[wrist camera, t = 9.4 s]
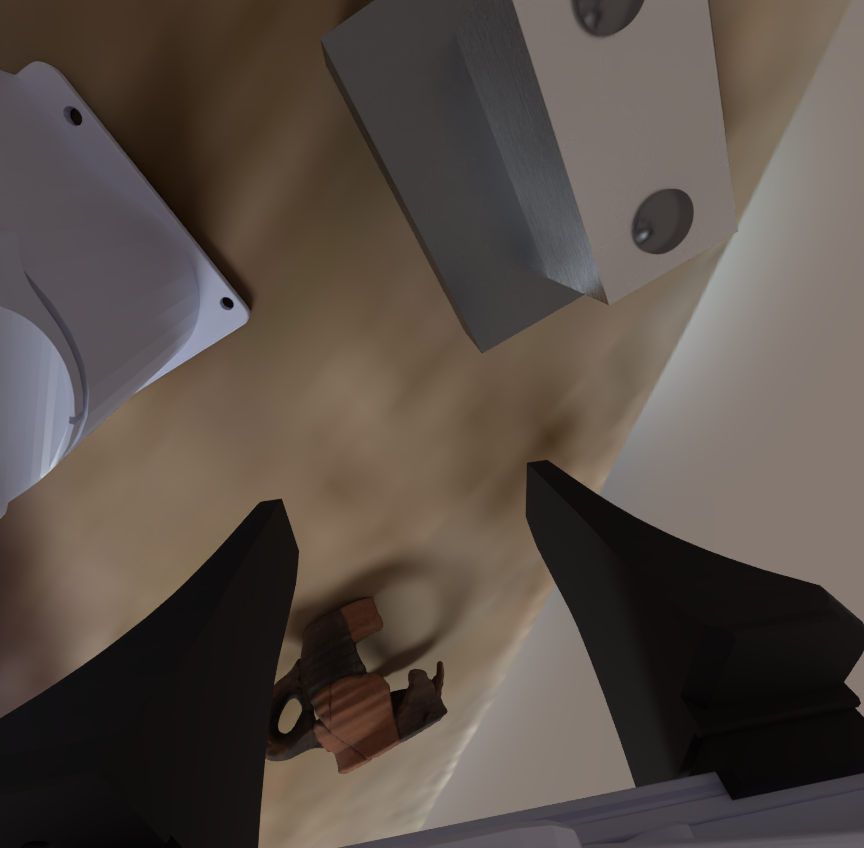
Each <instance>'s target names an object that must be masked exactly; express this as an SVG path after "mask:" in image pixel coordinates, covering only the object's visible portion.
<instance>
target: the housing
mask: <svg viewBox="0 0 864 848" xmlns="http://www.w3.org/2000/svg"><path fill="white" fill-rule="evenodd" d="M454 34H455V36H456V39H457V42H458V44H459V47H460V49H461V52H462V55H463V57H464V60H465V62H466V65H467V68H468V70H469V73H470V75H471V78H472V81H473V83H474V86H475V88H476V91H477V94H478V96H479V99H480V101H481V104H482V106H483V109H484V112H485V114H486V117H487V119H488V122H489V125H490V127H491V130H492V132H493V135H494V138H495V140H496V143H497V145H498V148H499V151H500V153H501V156H502V158H503V161H504V164H505V166H506V169H507V171H508V174H509V177H510V179H511V182H512V184H513V187H514V190H515V192H516V195H517V197H518V200H519V203H520V205H521V208H522V210H523V213H524V216H525V218H526V221H527V223H528V226H529V229H530V231H531V234H532V236H533V239H534V242H535V244H536V247H537V249H538V252H539V255H540V257H541V260H542V262H543V265H544V268H545V270H546V273H547V275H548V278H550V279H552V280H554V281H556V282H559V283H561V284H563V285H565V286H567V287H570V288H572V289H574V290H576V291H579V292H581V293H583V294H585V295H587V296H590V297H592V298H594V299H596V300H598V301H601V302H603V303H605V304H607V305H611V304H613V303H614V302H616V301H618V300H620V299H621V298H623V297H625V296H626V295H628V294H630V293H632V292H633V291H635V290H637V289H639V288H640V287H642V286H644V285H646V284H647V283H649V282H651V281H652V280H654V279H656V278H658V277H659V276H661V275H663V274H665V273H666V272H668V271H670V270H672V269H673V268H675V267H677V266H678V265H680V264H682V263H684V262H685V261H687V260H689V259H691V258H692V257H694V256H696V255H698V254H699V253H701V252H703V251H704V250H706V249H708V248H710V247H711V246H713V245H715V244H717V243H718V242H720V241H722V240H724V239H725V238H727V237H729V236H730V235H732V234H734V233H736V232H737V231H738V228H737V220H736V212H735V205H734V197H733V189H732V182H731V174H730V167H729V159H728V151H727V144H726V136H725V128H724V121H723V113H722V105H721V98H720V90H719V82H718V75H717V67H716V59H715V52H714V44H713V37H712V29H711V21H710V14H709V6H708V0H475V1H474V3H473V4H472V6H471V8H470V9H469V11H468V12H467V14H466V15H465V17H464V19H463V20H462V22H461V23H460V25H459V26H458V28H457V30H456V31H455V33H454Z"/></svg>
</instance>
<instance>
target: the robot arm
mask: <svg viewBox="0 0 864 848" xmlns="http://www.w3.org/2000/svg"><path fill="white" fill-rule="evenodd" d="M74 108H76V109H77V110H78V111H79V112H80V114H81V116H82V123H81V124H80V125H79V126H77V125H76V124H75V123H73V121H72V119H71V116H70V112H71V111H72V109H74ZM223 297H228V298H230V299H231V300H232V301H233V303H234V307H233V308H228V307H226V306H225V305H224V304H223V302H222V301H223ZM249 317H250V310H249V308H248V306H247V305H246V304H245V302H244V301H243V300H242V299H241V297H240V296H239V295H238V294H237V292H236V291H235V290H234V289H233V287H232V286H231V285H230V284H229V282H228V281H227V280H226V279H225V277H224V276H223V275H222V274H221V272H220V271H219V270H218V269H217V267H216V266H215V265H214V263H213V262H212V261H211V260H210V258H209V257H208V256H207V255H206V253H205V252H204V251H203V250H202V248H201V247H200V246H199V245H198V243H197V242H196V241H195V240H194V238H193V237H192V236H191V235H190V233H189V232H188V231H187V230H186V228H185V227H184V226H183V225H182V223H181V222H180V221H179V220H178V218H177V217H176V216H175V215H174V213H173V212H172V211H171V210H170V208H169V207H168V206H167V204H166V203H165V202H164V201H163V199H162V198H161V197H160V196H159V194H158V193H157V192H156V191H155V189H154V188H153V187H152V186H151V184H150V183H149V182H148V181H147V179H146V178H145V177H144V176H143V174H142V173H141V172H140V171H139V169H138V168H137V167H136V166H135V164H134V163H133V162H132V161H131V159H130V158H129V157H128V156H127V154H126V153H125V152H124V150H123V149H122V148H121V147H120V145H119V144H118V143H117V142H116V140H115V139H114V138H113V137H112V135H111V134H110V133H109V132H108V130H107V129H106V128H105V127H104V125H103V124H102V123H101V122H100V120H99V119H98V118H97V117H96V115H95V114H94V113H93V112H92V110H91V109H90V108H89V107H88V105H87V104H86V103H85V102H84V100H83V99H82V98H81V97H80V95H79V94H78V93H77V91H76V90H75V89H74V88H73V86H72V85H71V84H70V83H69V81H68V80H67V79H66V78H65V76H64V75H63V74H62V73H61V72H60V71H59V70H58V69H57V68H55V67H53V66H51V65H49V64H47V63H44V62H39V61H35V62H32V63H30V64H29V65H27V66H26V67H25V68H23V69H22V70H21V71H20V72H18V73H17V74H16V75H14V74H11V73H8V72H5V71H2V70H0V518H1V517H2V516H4V515H5V513H6V511H7V506H8V502H10V501H11V500H13V499H14V498H16V497H17V496H19V495H20V494H22V493H23V492H25V491H26V490H27V489H29V488H30V487H32V486H33V485H34V484H35V483H37V482H38V481H39V480H41V479H42V478H43V477H44V476H45V475H46V474H47V473H49V472H50V471H51V470H52V469H53V468H54V467H55V466H56V465H57V464H58V463H59V462H60V461H61V460H62V459H63V458H64V457H66V456H67V455H68V454H69V453H70V452H71V451H72V450H73V449H74V448H75V447H77V446H78V445H79V444H80V443H81V442H82V441H83V440H84V439H85V438H86V437H87V436H88V435H90V434H91V433H92V432H93V431H94V430H95V429H96V428H97V427H98V426H99V425H100V424H101V423H103V422H104V421H105V420H106V419H107V418H108V417H109V416H110V415H111V414H112V413H113V412H115V411H116V410H117V409H118V408H119V407H120V406H121V405H122V404H123V403H124V402H125V401H126V400H128V399H129V398H130V397H131V396H132V395H133V394H134V393H136V392H138V391H139V390H141V389H142V388H144V387H146V386H147V385H149V384H150V383H152V382H153V381H155V380H157V379H158V378H160V377H161V376H163V375H165V374H166V373H168V372H169V371H171V370H172V369H174V368H176V367H177V366H179V365H180V364H182V363H184V362H185V361H187V360H188V359H190V358H191V357H193V356H195V355H196V354H198V353H199V352H201V351H203V350H204V349H206V348H207V347H209V346H211V345H212V344H214V343H215V342H217V341H218V340H220V339H222V338H223V337H225V336H226V335H228V334H230V333H231V332H233V331H234V330H236V329H237V328H239V327H241V326H242V325H244V324H245V323H246V322H247V321H248V320H249ZM526 518H527V521H528V524H529V527H530V530H531V532H532V535H533V538H534V540H535V543H536V546H537V548H538V550H539V552H540V554H541V556H542V558H543V560H544V562H545V564H546V565H547V567H548V569H549V571H550V573H551V575H552V577H553V579H554V581H555V583H556V585H557V586H558V588H559V590H560V592H561V594H562V596H563V598H564V600H565V602H566V604H567V606H568V608H569V610H570V612H571V614H572V616H573V618H574V620H575V622H576V625H577V627H578V629H579V632H580V634H581V637H582V639H583V641H584V644H585V647H586V649H587V652H588V654H589V657H590V659H591V662H592V665H593V667H594V670H595V672H596V675H597V678H598V680H599V683H600V686H601V688H602V691H603V694H604V696H605V699H606V702H607V705H608V707H609V710H610V713H611V716H612V719H613V721H614V724H615V727H616V730H617V733H618V735H619V738H620V741H621V744H622V747H623V750H624V753H625V756H626V759H627V762H628V765H629V768H630V771H631V774H632V777H633V780H634V783H635V786H636V788H631V789H627V790H621V791H617V792H611V793H607V794H601V795H597V796H592V797H587V798H582V799H577V800H572V801H567V802H562V803H557V804H552V805H547V806H543V807H538V808H533V809H528V810H523V811H518V812H513V813H508V814H503V815H498V816H493V817H488V818H484V819H478V820H473V821H469V822H464V823H459V824H454V825H449V826H444V827H439V828H434V829H429V830H424V831H419V832H414V833H409V834H404V835H400V836H395V837H390V838H385V839H380V840H375V841H370V842H365V843H360V844H355V845H350V846H345V847H340V848H864V717H863V716H862V715H861V714H860V713H859V712H858V711H857V710H856V709H855V708H856V707H859V705H860V704H861V702H860V700H859V698H858V696H857V695H856V694H855V693H854V692H853V691H852V690H851V689H850V688H849V687H848V686H847V685H846V684H845V683H844V681H845V679H846V678H847V676H848V675H849V673H850V672H851V670H852V669H853V667H854V666H855V664H856V663H857V661H858V660H859V658H860V657H861V655H862V653H863V651H864V624H863V622H862V621H861V620H860V619H858V618H857V617H856V616H855V615H854V614H853V613H851V612H850V611H849V610H848V609H847V608H846V607H844V606H843V605H842V604H841V603H840V602H839V601H838V600H836V599H835V598H834V597H833V596H832V595H831V594H829V593H828V592H827V591H826V590H825V589H824V588H822V587H821V586H820V585H816V584H813V583H809V582H805V581H802V580H798V579H795V578H791V577H788V576H784V575H780V574H776V573H773V572H770V571H766V570H763V569H760V568H756V567H753V566H750V565H747V564H744V563H742V562H738V561H736V560H733V559H729V558H727V557H724V556H721V555H719V554H716V553H713V552H711V551H708V550H705V549H703V548H701V547H698V546H696V545H693V544H691V543H689V542H686V541H684V540H681V539H679V538H677V537H674V536H672V535H670V534H668V533H666V532H664V531H662V530H660V529H658V528H656V527H654V526H652V525H650V524H648V523H645V522H644V521H642V520H640V519H638V518H636V517H634V516H632V515H631V514H629V513H627V512H626V511H624V510H622V509H620V508H619V507H617V506H615V505H613V504H612V503H610V502H609V501H607V500H605V499H604V498H602V497H601V496H599V495H598V494H596V493H595V492H593V491H592V490H590V489H589V488H587V487H586V486H584V485H583V484H581V483H580V482H578V481H577V480H575V479H574V478H573V477H571V476H570V475H568V474H567V473H565V472H564V471H563V470H561V469H560V468H558V467H557V466H555V465H554V464H552V463H551V462H549V461H548V460H543V461H536V462H529V463H527V485H526ZM298 557H299V550H298V547H297V544H296V541H295V537H294V534H293V531H292V528H291V525H290V522H289V519H288V516H287V513H286V510H285V507H284V504H283V501H282V499H276V500H269V501H263V502H260V503H259V504H258V505H257V506H256V507H255V508H254V509H253V510H252V511H251V512H250V514H249V515H248V516H247V517H246V518H245V519H244V520H243V522H242V523H241V524H240V525H239V526H238V527H237V528H236V530H235V531H234V532H233V533H232V534H231V535H230V536H229V537H228V539H227V540H226V541H225V542H224V543H223V544H222V545H221V546H220V547H219V549H218V550H217V551H216V552H215V553H214V554H213V555H212V556H211V557H210V558H209V559H208V560H207V561H206V562H205V563H204V564H203V565H202V566H201V567H200V568H199V569H198V570H197V571H196V572H195V573H194V574H193V575H192V576H191V577H190V578H189V579H188V580H187V581H186V582H185V583H184V584H183V585H182V586H181V587H180V588H179V589H178V590H177V591H176V592H175V593H174V594H173V595H171V596H170V597H169V598H168V599H167V600H166V601H165V602H164V603H162V604H161V605H160V606H159V607H158V608H157V609H155V610H154V611H153V612H152V613H151V614H150V615H148V616H147V617H146V618H145V619H144V620H142V621H141V622H140V623H139V624H137V625H136V626H135V627H133V628H132V629H131V630H129V631H128V632H127V633H126V634H124V635H123V636H122V637H120V638H119V639H118V640H117V641H115V642H114V643H113V644H111V645H110V646H109V647H108V648H106V649H105V650H104V651H102V652H101V653H99V654H98V655H97V656H95V657H94V658H92V659H91V660H90V661H88V662H87V663H85V664H84V665H83V666H81V667H80V668H78V669H77V670H75V671H74V672H72V673H71V674H69V675H68V676H66V677H65V678H63V679H62V680H60V681H59V682H58V683H56V684H55V685H53V686H51V687H50V688H48V689H47V690H45V691H44V692H42V693H41V694H39V695H38V696H36V697H34V698H33V699H31V700H29V701H28V702H26V703H24V704H23V705H21V706H20V707H18V708H16V709H15V710H13V711H11V712H10V713H8V714H7V715H5V716H3V717H2V718H0V848H258V840H259V826H260V811H261V800H262V789H263V777H264V766H265V756H266V747H267V738H268V729H269V720H270V712H271V704H272V697H273V689H274V681H275V675H276V670H277V665H278V660H279V655H280V651H281V647H282V643H283V638H284V634H285V630H286V625H287V621H288V617H289V613H290V608H291V604H292V599H293V595H294V590H295V586H296V578H297V569H298Z"/></svg>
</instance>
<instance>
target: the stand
mask: <svg viewBox="0 0 864 848" xmlns="http://www.w3.org/2000/svg"><path fill="white" fill-rule="evenodd" d="M474 1H475V0H374V1H372V2H371V3H370V4H368V5H367V6H365V7H364V8H362V9H361V10H360V11H358V12H357V13H355V14H354V15H353V16H351V17H350V18H348V19H347V20H345V21H344V22H343V23H341V24H340V25H338V26H337V27H336V28H334V29H333V30H331V31H330V32H329V33H327V34H326V35H324V36H323V37H321V38H320V40H321V44H322V49H323V53H324V57H325V62H326V66H327V68H328V70H329V72H330V73H331V75H332V77H333V79H334V81H335V83H336V85H337V87H338V89H339V91H340V93H341V95H342V96H343V98H344V100H345V102H346V104H347V106H348V108H349V110H350V112H351V114H352V116H353V118H354V119H355V121H356V123H357V125H358V127H359V129H360V131H361V133H362V135H363V137H364V139H365V141H366V142H367V144H368V146H369V148H370V150H371V152H372V154H373V156H374V158H375V160H376V162H377V164H378V165H379V167H380V169H381V171H382V173H383V175H384V177H385V179H386V181H387V183H388V185H389V187H390V189H391V190H392V192H393V194H394V196H395V198H396V200H397V202H398V204H399V206H400V208H401V210H402V212H403V213H404V215H405V217H406V219H407V221H408V223H409V225H410V227H411V229H412V231H413V233H414V235H415V236H416V238H417V240H418V242H419V244H420V246H421V248H422V250H423V252H424V254H425V256H426V258H427V259H428V261H429V263H430V265H431V267H432V269H433V271H434V273H435V275H436V277H437V279H438V281H439V283H440V284H441V286H442V288H443V290H444V292H445V294H446V296H447V298H448V300H449V302H450V304H451V306H452V307H453V309H454V311H455V313H456V315H457V317H458V319H459V321H460V323H461V325H462V327H463V329H464V330H465V332H466V334H467V335H468V336H469V338H470V339H471V340H472V341H473V343H474V344H475V345H476V346H477V348H478V349H479V350H480V352H481V353H484V352H486V351H487V350H489V349H491V348H493V347H494V346H496V345H498V344H499V343H501V342H503V341H505V340H506V339H508V338H510V337H512V336H513V335H515V334H517V333H519V332H520V331H522V330H524V329H525V328H527V327H529V326H531V325H532V324H534V323H536V322H538V321H539V320H541V319H543V318H545V317H546V316H548V315H550V314H551V313H553V312H555V311H557V310H558V309H560V308H562V307H564V306H565V305H567V304H569V303H571V302H572V301H574V300H576V299H577V298H579V297H581V296H583V295H584V294H583V293H581V292H579V291H576V290H574V289H572V288H570V287H567V286H565V285H563V284H561V283H559V282H556V281H554V280H552V279H550V278H548V275H547V273H546V270H545V268H544V265H543V262H542V260H541V257H540V255H539V252H538V249H537V247H536V244H535V242H534V239H533V236H532V234H531V231H530V229H529V226H528V223H527V221H526V218H525V216H524V213H523V210H522V208H521V205H520V203H519V200H518V197H517V195H516V192H515V190H514V187H513V184H512V182H511V179H510V177H509V174H508V171H507V169H506V166H505V164H504V161H503V158H502V156H501V153H500V151H499V148H498V145H497V143H496V140H495V138H494V135H493V132H492V130H491V127H490V125H489V122H488V119H487V117H486V114H485V112H484V109H483V106H482V104H481V101H480V99H479V96H478V94H477V91H476V88H475V86H474V83H473V81H472V78H471V75H470V73H469V70H468V68H467V65H466V62H465V60H464V57H463V55H462V52H461V49H460V47H459V44H458V42H457V39H456V36H455V34H454V33H455V31H456V30H457V28H458V26H459V25H460V23H461V22H462V20H463V19H464V17H465V15H466V14H467V12H468V11H469V9H470V8H471V6H472V4H473V3H474ZM708 6H709V14H710V21H711V29H712V37H713V44H714V36H713V28H712V20H711V12H710V4H709V0H708ZM714 52H715V44H714ZM715 59H716V53H715ZM716 67H717V61H716ZM717 75H718V69H717ZM718 82H719V77H718ZM719 90H720V85H719ZM720 98H721V93H720ZM721 105H722V101H721ZM722 113H723V109H722ZM723 121H724V117H723ZM724 128H725V125H724ZM725 136H726V133H725ZM726 144H727V141H726ZM727 151H728V149H727ZM728 159H729V157H728ZM729 167H730V165H729Z"/></svg>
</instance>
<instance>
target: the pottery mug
mask: <svg viewBox="0 0 864 848" xmlns="http://www.w3.org/2000/svg"><path fill="white" fill-rule="evenodd" d="M382 628H383V622H382V619H381V616H380V615H379V614H378V612H377V608H376V606H375V603H374V601H373V598H371V597H368V598H365V599H361V600H358V601H356V602H353V603H350V604H348V605H347V606H344V607H342V608H341V609H338V610H335V611H334V612H332V613H330V614H328V615H324V616H322V617H321V618H320V619H318V620H316V621H314V622H313V623H312V624H310V625H309V627H308V628H307V629H306V630H305V632H304V633H303V646H302V652H301V659H298V660H297V662H296V663H295V665H294V667H293V668H292V670H291V671H290V672H289V673H288V674H287V675H285V676H284V677H283V678H282V679H280V680H279V681H278V682H277V683H276V684H275V685H274V689H273V697H272V704H271V712H270V720H269V729H268V738H267V747H266V756H265V758H266V759H268V760H270V761H284V760H288V759H291V758H293V757H295V756H297V755H299V754H301V753H303V752H305V751H307V750H309V749H313V748H324V749H326V751H327V752H333V753H334V754H335V757H336V761H337V765H338V772H339V773H340V774H346V773H348V772H350V771H353V770H354V769H356V768H358V767H360V766H362V765H364V764H366V763H368V762H369V761H371V760H372V758H376V757H378V756H380V755H381V754H383V753H385V752H386V751H388V750H390V749H392V748H393V747H395V746H397V745H398V744H399V743H401V742H404V741H406V740H408V739H410V738H412V737H413V736H415V735H416V734H418V733H420V732H422V731H423V730H425V729H427V728H428V727H430V726H431V725H433V724H434V723H436V722H437V721H440V719H441V718H442V717H443V716H444V715H445V714H446V713H447V709H446V707H445V706H444V704H443V702H442V699H441V689H442V686H443V678H444V668H443V663H442V662H441V661H439V662H438V663H437V673H436V676H434V678H433V679H432V680H431V679H429V678H428V677H427V673H426V672H425V671H424V670H420V669H413V670H410V672H409V674H408V681H409V686H408V688H407V689H401V690H397V691H393V692H390V687H389V684H388V683H387V682H386V681H385V679H384V678H383V677H382V676H381V675H379V674H376V673H367V671H366V668H365V666H364V664H363V663H362V661H361V659H360V657H359V655H358V653H357V648H356V643H358V642H360V641H361V640H362V639H363V638H365V637H367V636H369V635H371V634H373V633H375V632H377V631H380V630H381V629H382ZM293 698H296V699H297V700H298V701H299V703H300V704H301V706H302V712H301V714H300V716H299V718H298V720H297V722H296V724H295V726H294V727H293V729H292V730H291V731H290V732H288V733H287V734H283V733H281V732H280V731H279V729H278V722H279V718H280V715H281V713H282V711H283V709H284V707H285V705H286V704H287V702H288V701H289V700H291V699H293ZM314 709H315V713H316V714H317V716H318V717H319V718H320V719H318V720H317V721H316V718H315V715H314Z"/></svg>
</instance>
